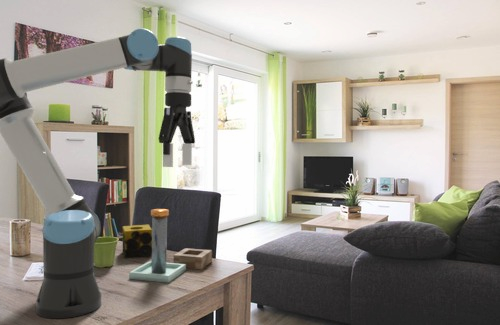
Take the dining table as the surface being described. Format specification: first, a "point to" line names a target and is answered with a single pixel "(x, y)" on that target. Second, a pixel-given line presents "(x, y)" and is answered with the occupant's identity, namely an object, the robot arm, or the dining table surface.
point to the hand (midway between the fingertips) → (177, 165)
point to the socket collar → (193, 258)
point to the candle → (137, 241)
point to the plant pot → (105, 251)
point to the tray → (146, 274)
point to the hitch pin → (159, 240)
